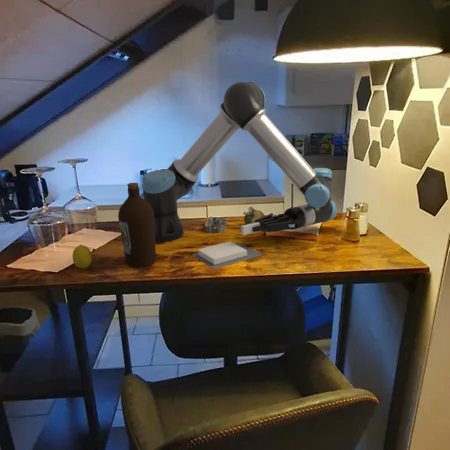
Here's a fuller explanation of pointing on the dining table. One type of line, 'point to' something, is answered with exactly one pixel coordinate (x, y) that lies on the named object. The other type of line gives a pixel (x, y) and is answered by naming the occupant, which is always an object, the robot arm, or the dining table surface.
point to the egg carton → (216, 224)
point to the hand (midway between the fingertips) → (242, 230)
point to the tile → (222, 252)
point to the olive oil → (137, 229)
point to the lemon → (82, 256)
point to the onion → (252, 215)
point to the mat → (250, 255)
